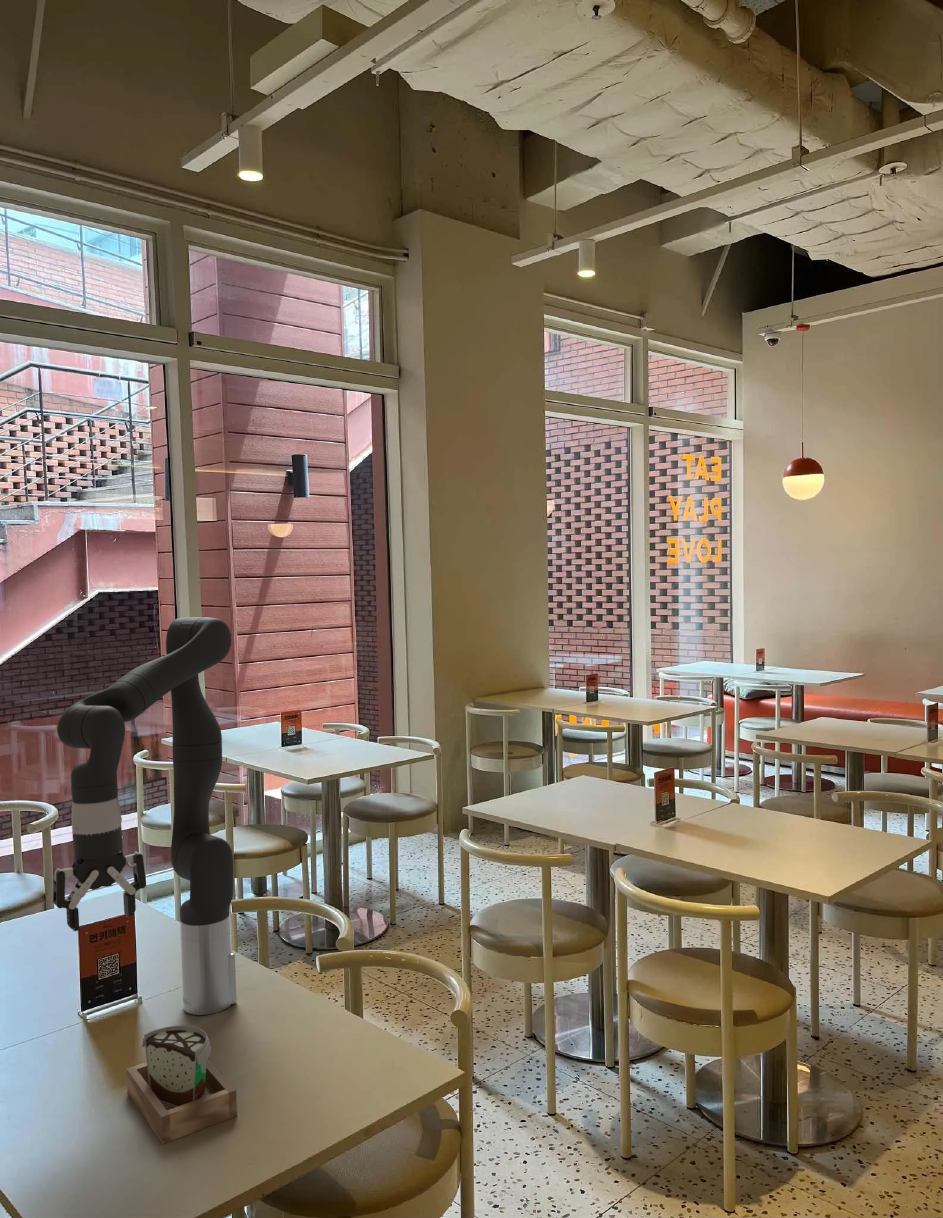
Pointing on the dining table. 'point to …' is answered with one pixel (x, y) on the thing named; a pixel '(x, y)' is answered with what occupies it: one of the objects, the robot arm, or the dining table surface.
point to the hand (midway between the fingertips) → (102, 922)
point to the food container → (177, 1063)
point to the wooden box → (185, 1117)
